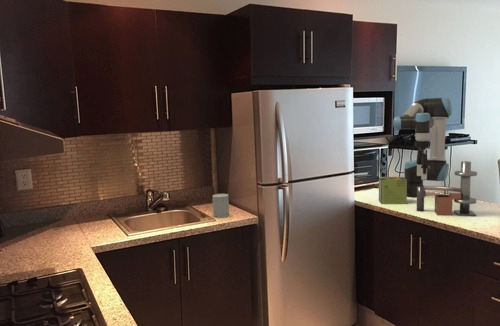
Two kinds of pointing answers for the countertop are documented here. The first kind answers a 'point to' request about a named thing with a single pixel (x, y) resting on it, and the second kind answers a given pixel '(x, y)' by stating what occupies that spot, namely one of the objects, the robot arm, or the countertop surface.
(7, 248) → the countertop surface
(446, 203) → the post with bracket
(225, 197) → the grey-green cylinder
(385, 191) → the protein box
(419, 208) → the dark grey cylinder
